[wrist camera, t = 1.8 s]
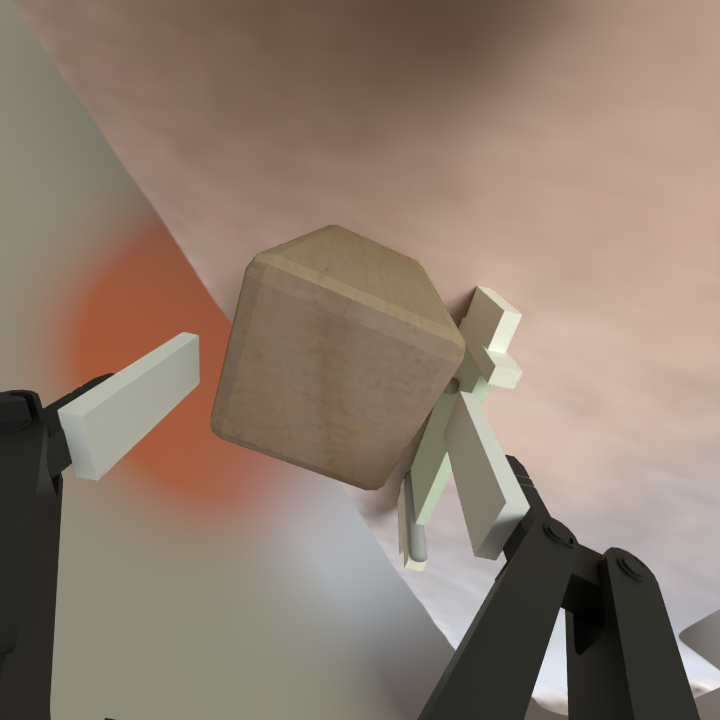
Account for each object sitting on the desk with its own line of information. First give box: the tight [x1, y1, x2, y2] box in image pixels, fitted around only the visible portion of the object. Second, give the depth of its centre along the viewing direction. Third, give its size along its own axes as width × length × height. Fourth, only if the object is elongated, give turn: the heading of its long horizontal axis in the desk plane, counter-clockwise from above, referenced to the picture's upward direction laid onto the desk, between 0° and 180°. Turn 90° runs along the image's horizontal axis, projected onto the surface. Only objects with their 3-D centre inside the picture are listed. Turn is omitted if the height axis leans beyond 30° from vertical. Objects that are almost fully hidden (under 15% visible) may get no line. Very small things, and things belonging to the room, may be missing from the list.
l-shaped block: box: [397, 286, 522, 572], centre depth 33 cm, size 31×2×11 cm, turn 169°
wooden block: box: [211, 225, 466, 490], centre depth 23 cm, size 10×10×20 cm
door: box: [411, 346, 491, 526], centre depth 34 cm, size 19×3×8 cm, turn 168°
